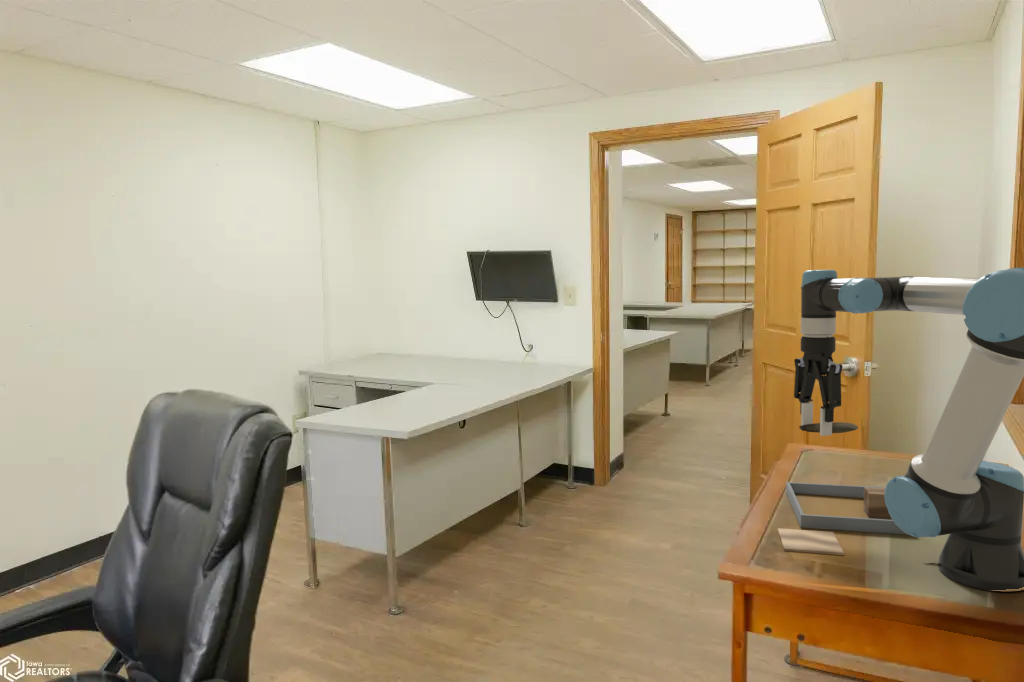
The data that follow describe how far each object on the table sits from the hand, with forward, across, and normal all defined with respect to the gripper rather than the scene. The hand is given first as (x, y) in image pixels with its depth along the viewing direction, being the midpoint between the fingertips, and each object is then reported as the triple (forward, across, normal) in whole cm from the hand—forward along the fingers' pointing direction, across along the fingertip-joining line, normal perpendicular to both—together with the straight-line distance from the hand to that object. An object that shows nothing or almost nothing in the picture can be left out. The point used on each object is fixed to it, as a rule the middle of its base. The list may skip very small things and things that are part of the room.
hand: (816, 431), depth 163 cm
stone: (0, +4, -1) cm, 4 cm away
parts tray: (+22, +4, -12) cm, 26 cm away
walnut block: (+22, 0, -18) cm, 29 cm away
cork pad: (+22, -10, +9) cm, 26 cm away
